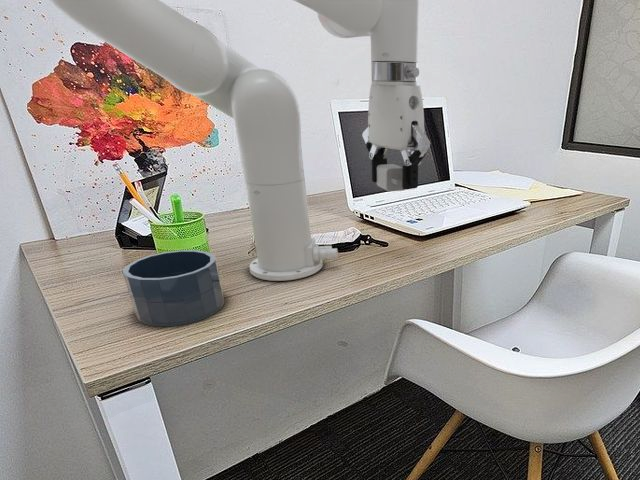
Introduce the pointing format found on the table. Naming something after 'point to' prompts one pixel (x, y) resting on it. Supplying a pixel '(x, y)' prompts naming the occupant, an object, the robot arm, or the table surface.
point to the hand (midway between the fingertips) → (394, 184)
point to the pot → (174, 287)
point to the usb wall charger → (389, 177)
